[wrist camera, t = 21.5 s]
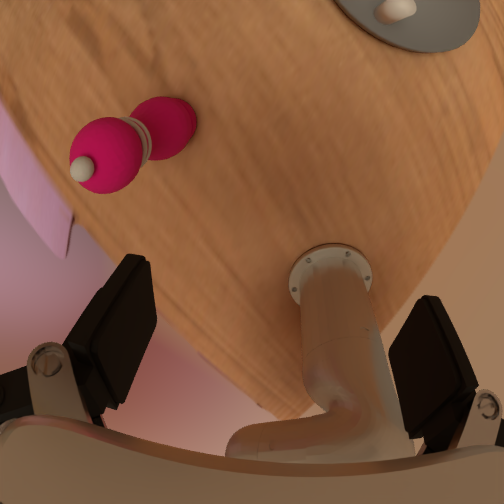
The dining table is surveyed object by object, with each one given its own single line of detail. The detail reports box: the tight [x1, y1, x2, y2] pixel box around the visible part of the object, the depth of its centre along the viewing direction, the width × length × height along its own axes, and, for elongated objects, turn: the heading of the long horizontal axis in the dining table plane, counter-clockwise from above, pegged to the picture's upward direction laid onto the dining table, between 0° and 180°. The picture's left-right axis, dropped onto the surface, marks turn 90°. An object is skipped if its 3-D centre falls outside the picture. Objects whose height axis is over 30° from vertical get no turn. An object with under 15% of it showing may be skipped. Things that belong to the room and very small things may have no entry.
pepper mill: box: [69, 97, 197, 194], centre depth 25 cm, size 7×7×20 cm
